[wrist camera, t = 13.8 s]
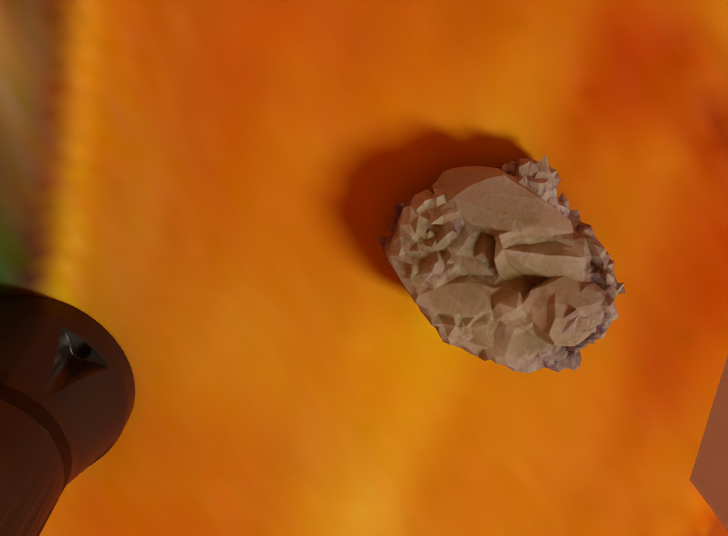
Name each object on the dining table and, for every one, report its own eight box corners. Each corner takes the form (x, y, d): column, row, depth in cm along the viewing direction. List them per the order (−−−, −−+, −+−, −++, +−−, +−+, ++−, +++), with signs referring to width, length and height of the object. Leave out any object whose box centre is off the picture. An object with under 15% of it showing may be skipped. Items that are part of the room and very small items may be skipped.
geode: (426, 128, 51) (382, 312, 54) (397, 119, 42) (345, 339, 45) (656, 181, 46) (593, 376, 49) (677, 182, 37) (600, 421, 41)
